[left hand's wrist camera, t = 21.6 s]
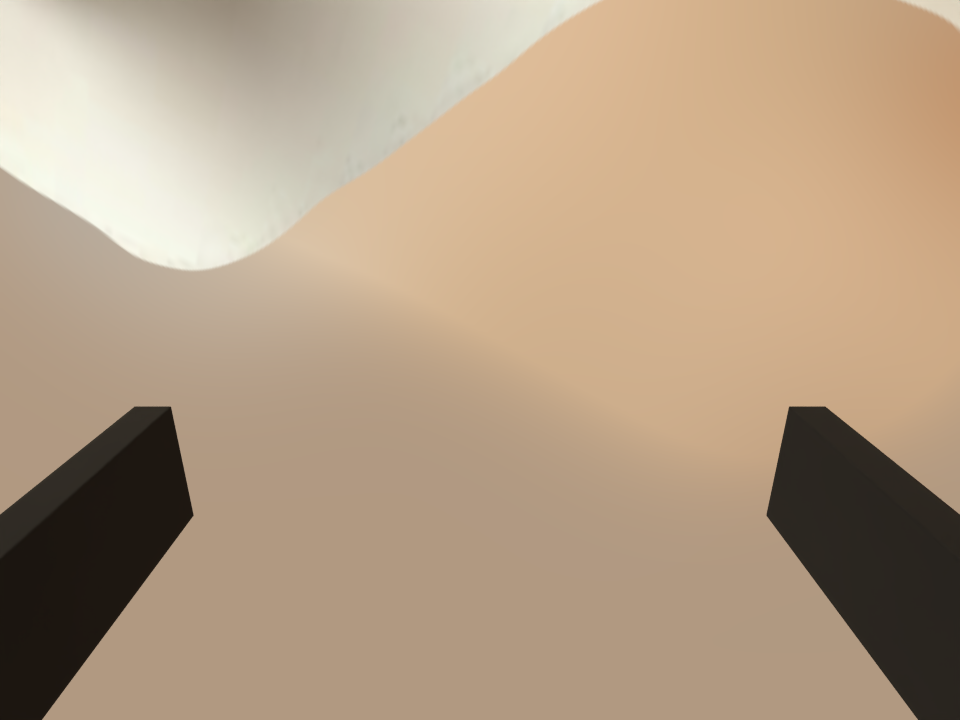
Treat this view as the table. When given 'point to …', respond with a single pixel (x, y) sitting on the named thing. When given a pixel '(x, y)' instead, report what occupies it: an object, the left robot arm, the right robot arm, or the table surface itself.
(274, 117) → the table surface
